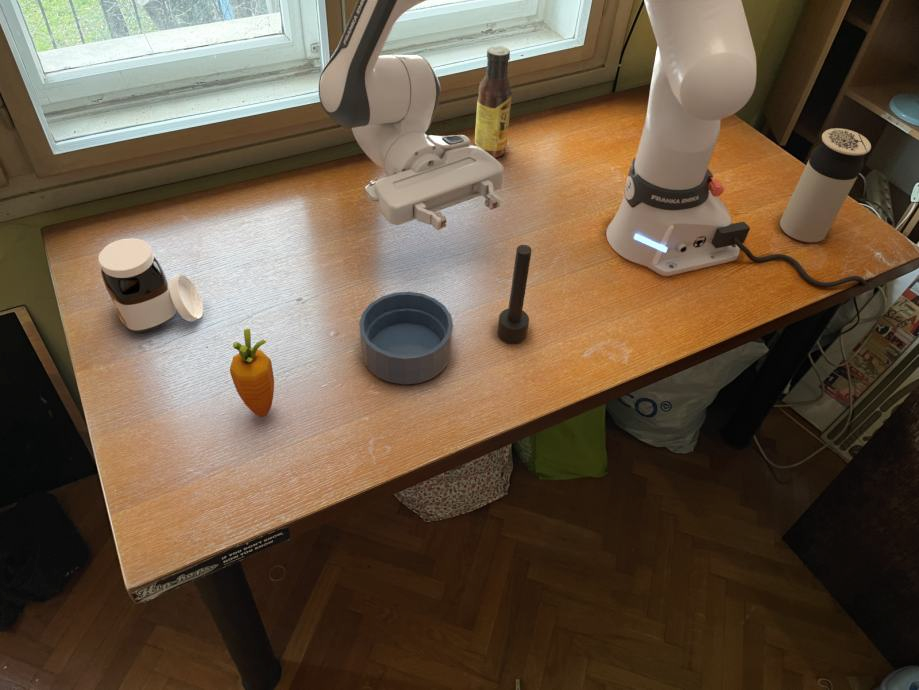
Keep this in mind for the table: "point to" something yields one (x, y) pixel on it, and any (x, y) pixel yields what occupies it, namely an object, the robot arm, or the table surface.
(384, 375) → the bowl
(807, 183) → the travel mug
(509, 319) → the black rod with base
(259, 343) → the carrot
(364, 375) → the table surface
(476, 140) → the sauce bottle
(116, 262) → the spread jar
